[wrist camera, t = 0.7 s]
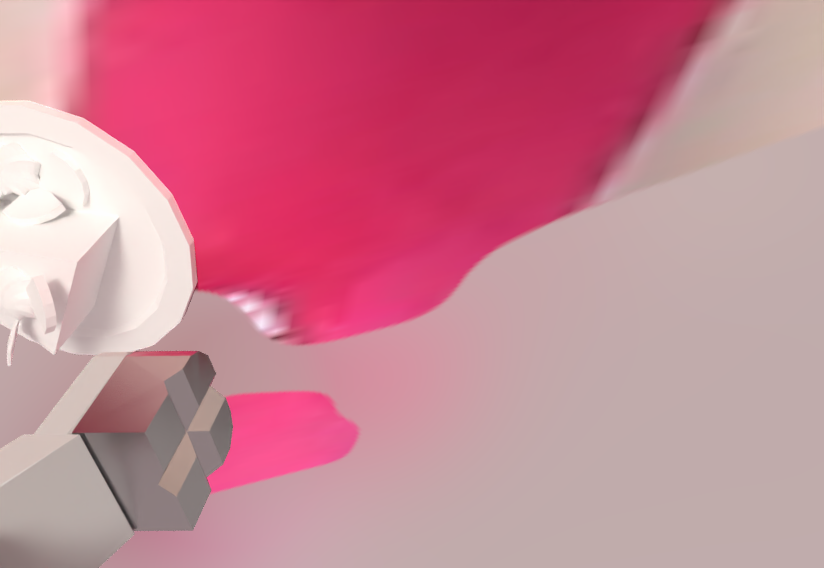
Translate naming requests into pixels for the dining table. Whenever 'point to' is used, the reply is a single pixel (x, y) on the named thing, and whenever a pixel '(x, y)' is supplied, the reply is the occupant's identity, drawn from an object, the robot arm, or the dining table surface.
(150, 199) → the dish
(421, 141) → the dining table surface
